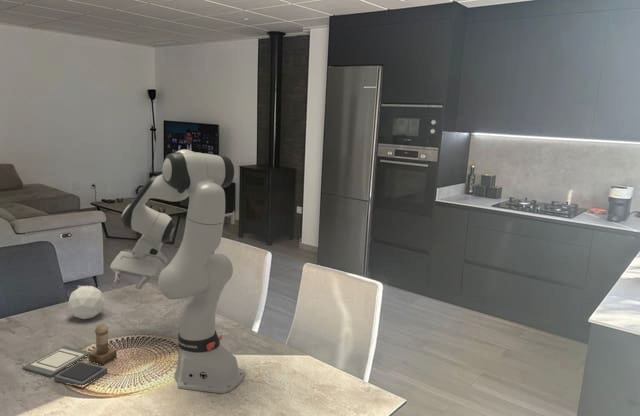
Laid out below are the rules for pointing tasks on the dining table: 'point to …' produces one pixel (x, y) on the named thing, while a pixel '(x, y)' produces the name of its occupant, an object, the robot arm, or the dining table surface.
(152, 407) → the dining table surface
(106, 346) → the hand stamp
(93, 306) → the geodesic sphere
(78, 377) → the ink pad
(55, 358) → the document board
